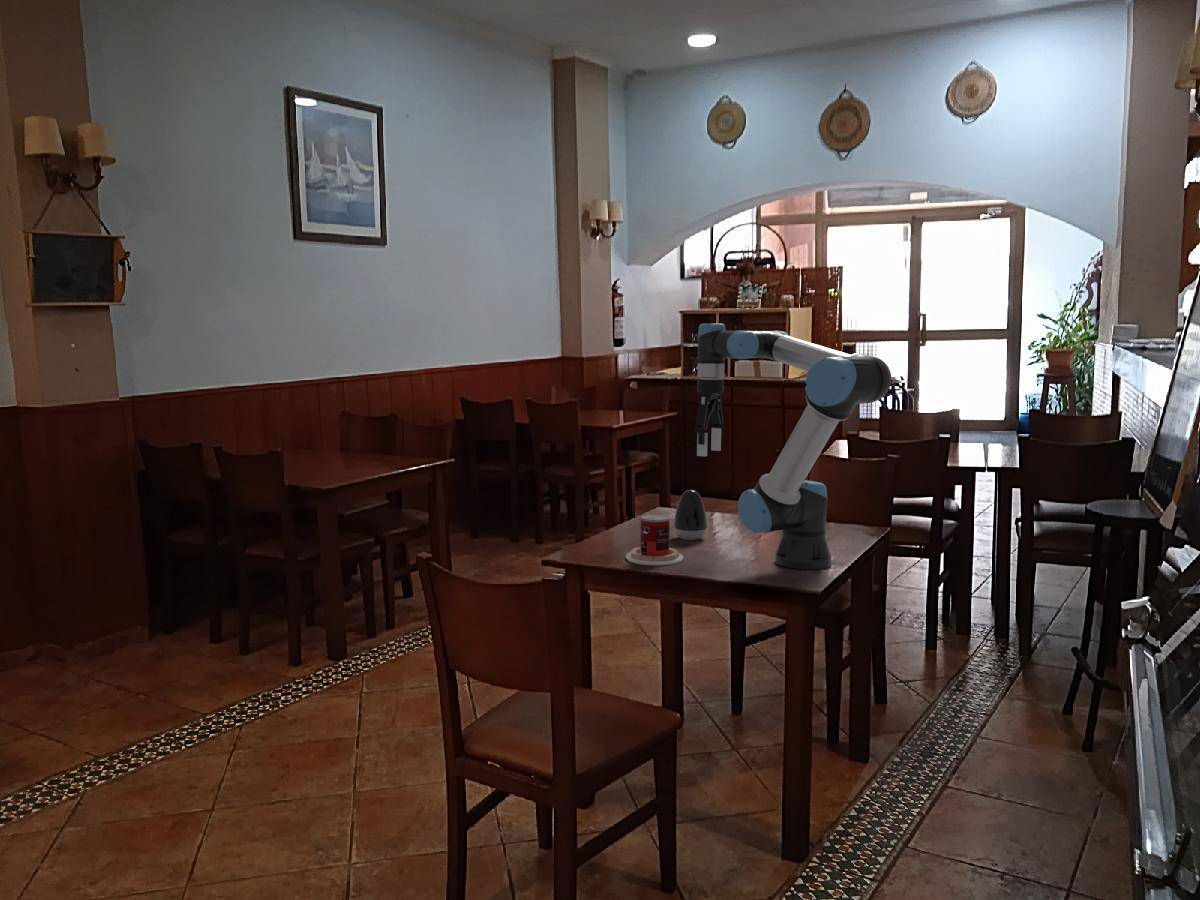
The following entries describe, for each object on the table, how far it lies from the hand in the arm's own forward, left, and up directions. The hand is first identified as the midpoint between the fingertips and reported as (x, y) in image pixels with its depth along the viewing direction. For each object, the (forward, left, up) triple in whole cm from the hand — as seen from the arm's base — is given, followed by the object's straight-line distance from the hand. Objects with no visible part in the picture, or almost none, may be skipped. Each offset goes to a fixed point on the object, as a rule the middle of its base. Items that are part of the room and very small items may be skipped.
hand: (709, 453), depth 272 cm
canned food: (+11, +14, -28) cm, 33 cm away
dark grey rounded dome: (+10, -15, -29) cm, 34 cm away
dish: (+11, +14, -29) cm, 34 cm away
